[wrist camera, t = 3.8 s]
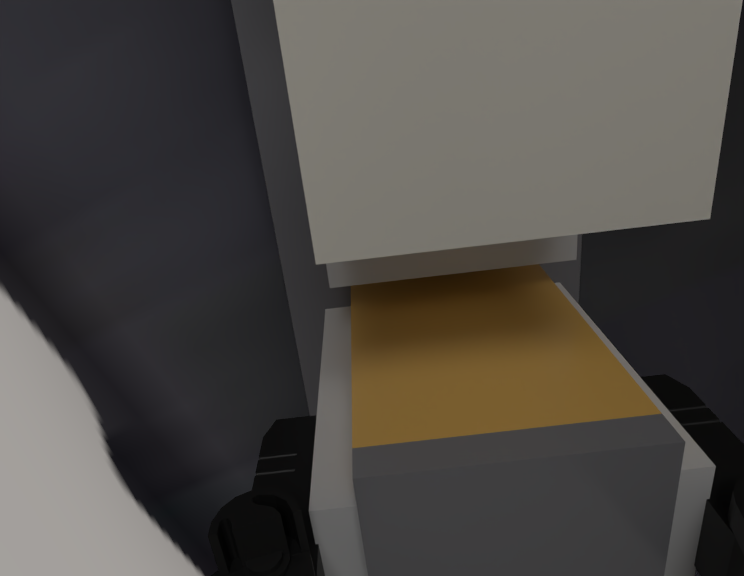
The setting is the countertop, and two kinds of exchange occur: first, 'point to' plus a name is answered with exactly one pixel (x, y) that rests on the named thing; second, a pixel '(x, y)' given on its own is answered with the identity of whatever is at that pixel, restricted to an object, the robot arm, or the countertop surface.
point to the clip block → (291, 224)
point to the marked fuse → (502, 434)
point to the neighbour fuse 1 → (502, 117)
